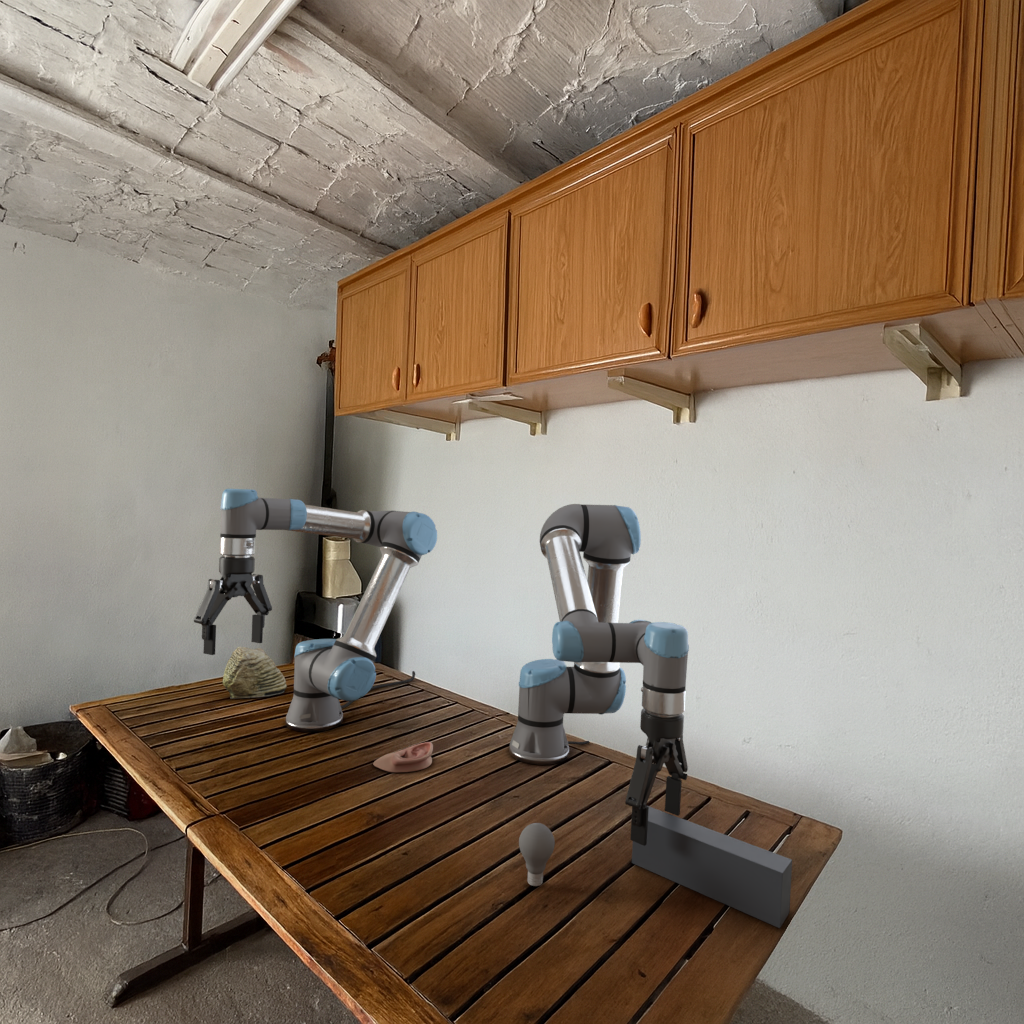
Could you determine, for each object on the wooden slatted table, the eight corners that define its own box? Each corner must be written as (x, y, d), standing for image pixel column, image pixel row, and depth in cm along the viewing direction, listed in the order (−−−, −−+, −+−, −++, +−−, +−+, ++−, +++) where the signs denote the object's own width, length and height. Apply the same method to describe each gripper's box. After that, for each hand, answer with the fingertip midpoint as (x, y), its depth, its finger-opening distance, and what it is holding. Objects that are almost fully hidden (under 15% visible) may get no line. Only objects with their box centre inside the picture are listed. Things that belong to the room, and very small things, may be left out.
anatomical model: (368, 752, 148) (387, 734, 159) (367, 769, 148) (386, 750, 159) (422, 759, 145) (438, 741, 156) (421, 776, 145) (437, 757, 156)
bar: (789, 912, 102) (792, 859, 102) (779, 928, 98) (782, 873, 98) (644, 851, 118) (647, 805, 118) (631, 863, 114) (633, 815, 114)
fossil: (218, 695, 195) (220, 647, 195) (278, 685, 208) (279, 640, 207) (228, 703, 189) (230, 653, 188) (289, 692, 201) (290, 645, 201)
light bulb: (515, 873, 109) (518, 816, 109) (550, 873, 109) (552, 816, 109) (518, 895, 103) (521, 834, 103) (555, 895, 104) (558, 834, 103)
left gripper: (203, 561, 132) (199, 661, 133) (289, 553, 155) (286, 640, 156) (177, 558, 135) (174, 656, 136) (266, 551, 158) (263, 636, 159)
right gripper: (672, 690, 125) (666, 795, 126) (609, 723, 106) (602, 847, 107) (709, 699, 121) (703, 808, 122) (650, 735, 101) (642, 865, 102)
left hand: (234, 648), depth 146 cm, fingers open, 13 cm apart
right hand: (656, 826), depth 114 cm, fingers open, 13 cm apart
